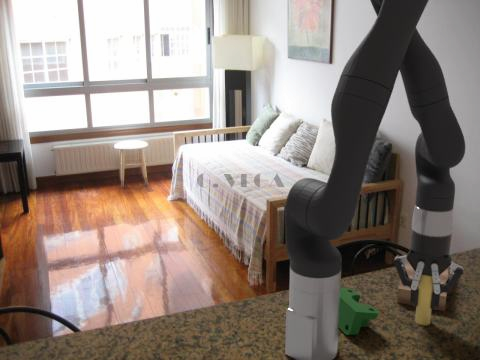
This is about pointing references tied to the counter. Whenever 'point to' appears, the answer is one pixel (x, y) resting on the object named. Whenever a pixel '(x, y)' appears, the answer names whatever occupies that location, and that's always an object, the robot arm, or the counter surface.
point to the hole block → (405, 291)
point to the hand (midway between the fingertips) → (423, 305)
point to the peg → (424, 300)
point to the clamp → (353, 312)
